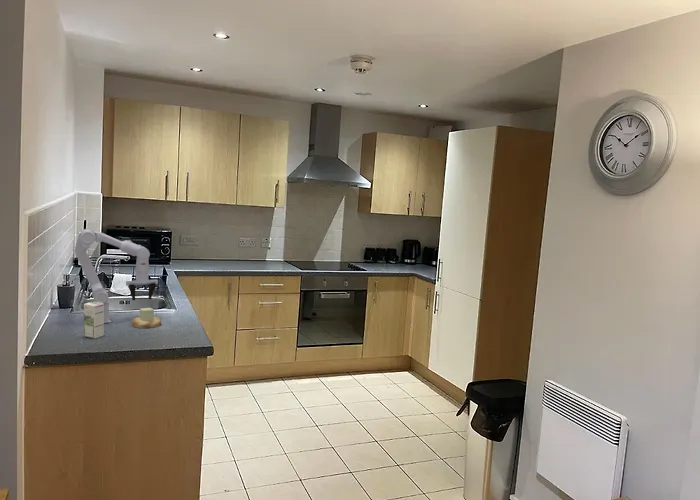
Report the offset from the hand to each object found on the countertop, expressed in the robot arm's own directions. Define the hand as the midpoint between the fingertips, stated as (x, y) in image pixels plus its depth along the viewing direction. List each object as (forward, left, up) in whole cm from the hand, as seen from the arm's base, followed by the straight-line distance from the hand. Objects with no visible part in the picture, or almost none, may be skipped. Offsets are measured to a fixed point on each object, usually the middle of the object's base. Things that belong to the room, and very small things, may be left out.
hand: (141, 299), depth 261 cm
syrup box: (-26, -21, -10) cm, 35 cm away
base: (-1, -11, -10) cm, 15 cm away
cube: (-1, -11, -7) cm, 13 cm away
